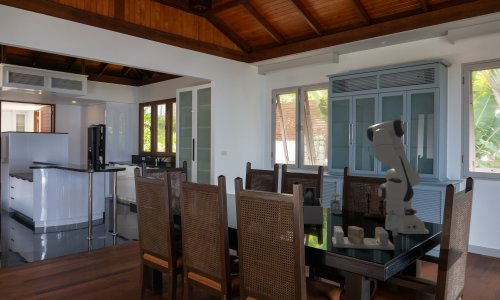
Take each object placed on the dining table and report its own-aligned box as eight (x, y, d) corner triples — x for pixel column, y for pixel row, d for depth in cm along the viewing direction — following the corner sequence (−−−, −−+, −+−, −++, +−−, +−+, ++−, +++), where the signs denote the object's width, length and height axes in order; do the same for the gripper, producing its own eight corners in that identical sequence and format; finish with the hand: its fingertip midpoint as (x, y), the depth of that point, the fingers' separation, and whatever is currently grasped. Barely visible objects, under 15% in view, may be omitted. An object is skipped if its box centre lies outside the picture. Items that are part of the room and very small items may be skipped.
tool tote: (320, 213, 282) (320, 198, 282) (322, 224, 242) (322, 206, 242) (302, 212, 284) (302, 197, 284) (301, 223, 244) (301, 206, 244)
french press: (332, 211, 292) (332, 180, 292) (346, 212, 285) (346, 181, 285) (326, 212, 285) (327, 181, 284) (340, 214, 277) (340, 182, 277)
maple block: (354, 238, 197) (354, 225, 197) (363, 242, 190) (363, 229, 190) (347, 239, 196) (348, 226, 196) (357, 243, 188) (357, 229, 188)
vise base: (387, 242, 197) (388, 228, 197) (394, 249, 183) (394, 234, 183) (331, 240, 201) (332, 226, 201) (334, 247, 187) (334, 231, 187)
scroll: (363, 219, 259) (363, 191, 259) (365, 215, 273) (365, 189, 273) (385, 221, 253) (385, 193, 253) (386, 217, 267) (386, 190, 267)
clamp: (313, 224, 245) (313, 192, 245) (300, 223, 247) (300, 192, 247) (315, 214, 279) (315, 187, 279) (304, 214, 281) (304, 186, 281)
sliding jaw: (382, 238, 197) (382, 227, 197) (388, 245, 183) (388, 233, 183) (374, 237, 198) (374, 227, 198) (380, 244, 184) (380, 233, 184)
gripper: (394, 213, 179) (394, 240, 179) (406, 207, 195) (406, 233, 195) (382, 211, 183) (382, 238, 183) (394, 206, 199) (394, 231, 199)
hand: (394, 235), depth 189 cm, fingers closed
